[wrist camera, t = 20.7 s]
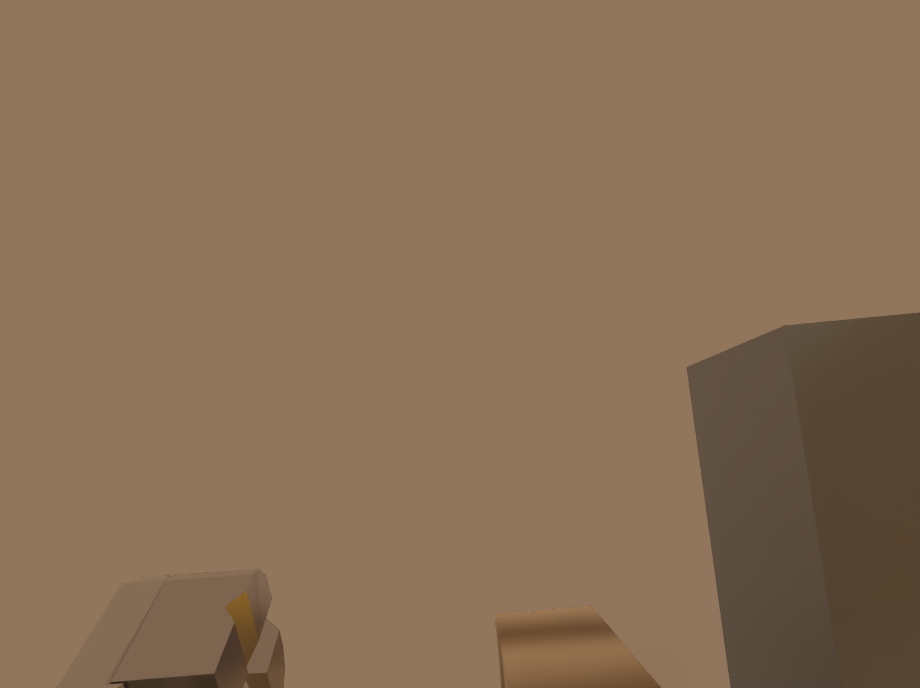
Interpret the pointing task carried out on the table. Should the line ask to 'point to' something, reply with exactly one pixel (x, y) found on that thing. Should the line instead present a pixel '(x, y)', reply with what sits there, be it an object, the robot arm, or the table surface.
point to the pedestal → (815, 502)
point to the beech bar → (565, 652)
